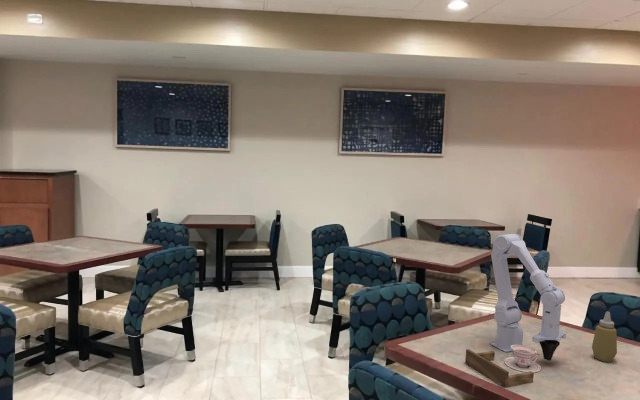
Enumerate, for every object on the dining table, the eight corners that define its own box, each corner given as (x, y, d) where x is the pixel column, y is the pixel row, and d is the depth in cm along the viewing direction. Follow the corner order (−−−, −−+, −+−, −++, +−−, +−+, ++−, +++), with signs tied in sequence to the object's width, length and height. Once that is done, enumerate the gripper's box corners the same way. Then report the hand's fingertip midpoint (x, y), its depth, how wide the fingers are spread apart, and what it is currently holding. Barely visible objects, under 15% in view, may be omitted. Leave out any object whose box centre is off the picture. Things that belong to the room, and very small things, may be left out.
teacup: (503, 368, 161) (505, 351, 161) (504, 356, 172) (505, 339, 172) (541, 376, 157) (543, 358, 156) (539, 362, 168) (541, 346, 167)
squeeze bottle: (612, 356, 176) (617, 310, 174) (618, 365, 168) (623, 316, 166) (588, 353, 178) (593, 307, 177) (593, 361, 171) (598, 313, 169)
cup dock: (491, 358, 169) (492, 345, 168) (533, 381, 152) (534, 367, 151) (465, 363, 164) (466, 349, 163) (504, 387, 147) (505, 372, 147)
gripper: (545, 328, 159) (541, 366, 160) (574, 324, 165) (571, 361, 166) (528, 321, 166) (525, 358, 167) (557, 317, 171) (554, 353, 173)
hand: (547, 359), depth 167 cm, fingers closed
